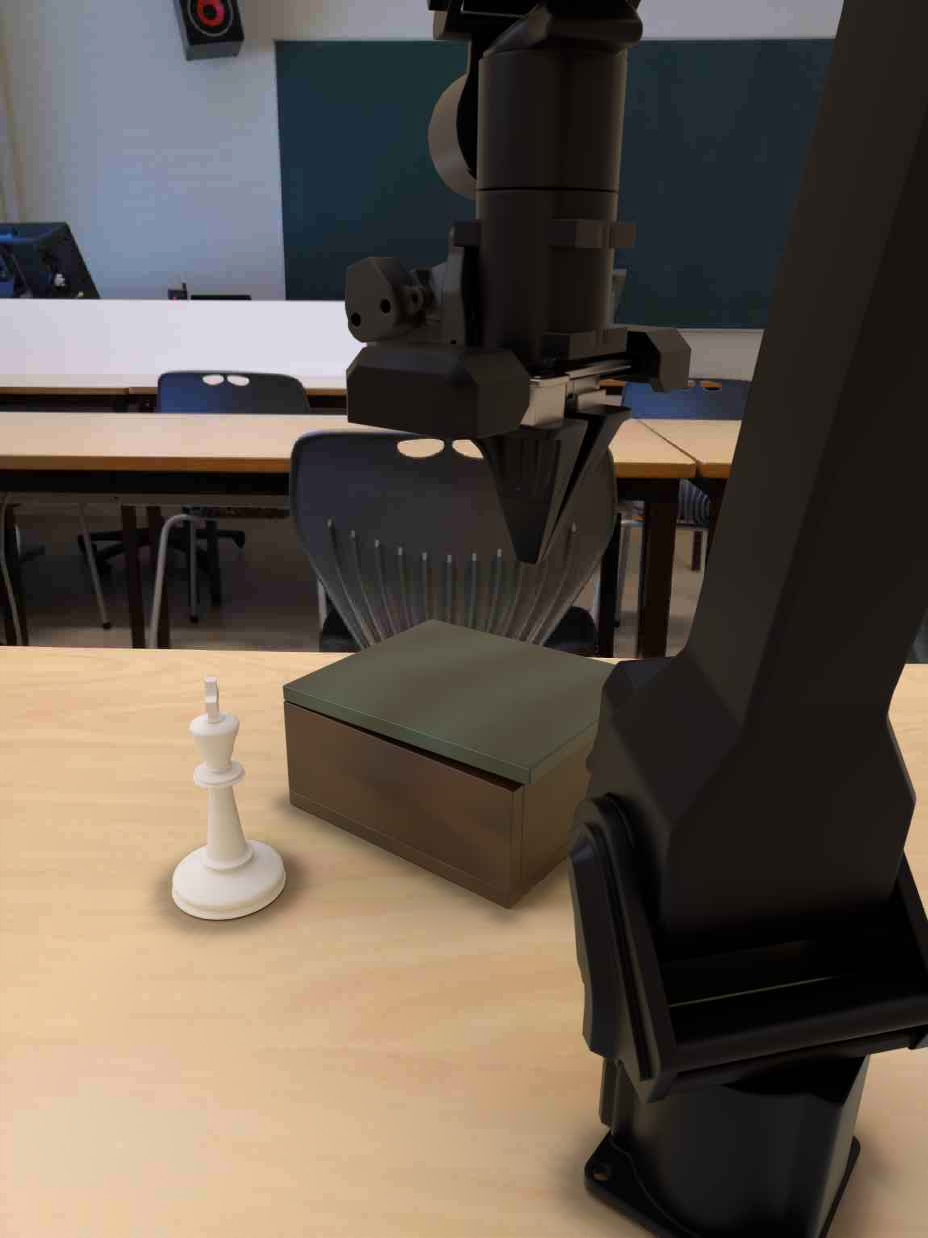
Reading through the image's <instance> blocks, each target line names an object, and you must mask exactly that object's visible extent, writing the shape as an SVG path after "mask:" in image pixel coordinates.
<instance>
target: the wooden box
mask: <svg viewBox="0 0 928 1238" xmlns="http://www.w3.org/2000/svg"><path fill="white" fill-rule="evenodd" d="M283 716H284V717H283V718H284V719H283V720H284V733H285V745H286V746H285V749H286V763H287V780H288V789H289V790H288V795H289V803H290V804H291V805H293V806H295V807H298V808H300V809H302V810H303V811H306V812H308V813H310V814H312V815H314V816H317V817H318V818H321V819H322V820H325V821H327V822H328V823H330V824H332V825H335V826H337V827H339V828H342V829H343V830H346V831H348V832H349V833H352V834H353V835H356V836H358V837H360V838H362V839H364V840H366V841H368V842H370V843H372V844H374V845H377V846H378V847H380V848H383V849H384V850H386V851H389V852H391V853H393V854H395V855H397V856H400V857H401V858H403V859H405V860H407V861H410V862H412V863H414V864H416V865H418V866H420V867H422V868H424V869H426V870H428V871H430V872H432V873H434V874H436V875H439V876H441V877H443V878H444V879H447V880H448V881H451V882H453V883H454V884H457V885H459V886H461V887H464V888H465V889H467V890H470V891H472V892H473V893H476V894H478V895H480V896H482V897H483V898H486V899H489V900H490V901H492V902H494V903H497V904H499V905H500V906H503V907H505V908H507V909H510V908H511V907H512V906H513V905H515V904H516V903H517V902H518V901H519V900H520V899H521V898H522V897H523V896H524V895H525V894H526V893H528V891H530V890H531V889H532V888H533V887H534V886H535V885H536V884H537V883H539V882H540V881H541V880H542V879H543V878H544V877H545V876H547V874H549V873H550V872H551V871H552V870H553V869H554V868H555V867H557V865H558V864H560V863H561V862H562V861H563V860H564V859H565V858H567V855H568V854H569V852H570V846H569V830H570V828H572V827H573V819H574V814H575V810H576V807H577V805H578V803H579V802H580V801H581V800H582V799H585V797H586V792H587V788H588V783H589V780H590V777H591V773H590V772H588V771H587V769H586V759H587V757H588V756H589V754H590V752H591V750H592V749H593V745H594V742H595V738H596V736H595V737H594V738H593V739H591V740H590V741H589V742H587V743H586V744H585V745H583V746H582V747H581V748H580V749H578V750H577V751H576V752H574V753H573V754H572V755H570V756H569V757H568V758H566V759H565V760H564V761H562V762H561V763H560V764H558V765H557V766H556V767H554V768H553V769H552V770H550V771H549V772H548V773H546V774H545V775H544V776H542V777H541V778H540V779H538V780H537V781H536V782H535V783H533V784H532V785H530V786H529V785H526V784H523V783H520V782H517V781H514V780H511V779H509V778H506V777H503V776H500V775H497V774H494V773H491V772H489V771H486V770H483V769H480V768H477V767H474V766H472V765H469V764H466V763H463V762H460V761H457V760H454V759H452V758H449V757H446V756H443V755H440V754H437V753H434V752H432V751H429V750H426V749H423V748H420V747H417V746H415V745H412V744H409V743H406V742H403V741H400V740H397V739H395V738H392V737H389V736H386V735H383V734H380V733H378V732H375V731H372V730H369V729H366V728H363V727H360V726H358V725H355V724H352V723H349V722H346V721H343V720H340V719H338V718H335V717H332V716H329V715H326V714H323V713H321V712H318V711H315V710H312V709H309V708H306V707H303V706H301V705H298V704H295V703H292V702H289V701H286V700H283Z"/></svg>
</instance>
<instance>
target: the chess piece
mask: <svg viewBox="0 0 928 1238" xmlns="http://www.w3.org/2000/svg"><path fill="white" fill-rule="evenodd" d="M204 690H205V691H204V692H205V701H204V707H205V713H203V714H200V715H199V716H197V717H195V718H193V720H192V721H191V722H190V724H189V727H188V728H189V733H190V735H191V737H192V739H193V741H194V742H195V744H196V746H197V748H198V750H199V753H200V755H201V756H202V760H203V761H204V762H202V763H201V764H199V765H198V766H197V767H196V768H195V769H194V772H193V776H192V777H193V778H192V780H193V782H194V784H196V786H197V787H200V788H203V789H207V790H208V816H207V817H208V818H207V838H206V845H203V846H202V847H201V846H200V847H199V848H197V849H196V850H194V851H192V852H191V853H189V854H188V855H186V856H185V857H184V858H183V859H182V860H181V861H180V863H178V864H177V866H176V868H175V870H174V872H173V874H172V887H171V896H172V900H173V901H174V903H175V905H176V906H177V907H178V908H179V909H180V910H181V911H183V912H184V913H186V914H188V915H190V916H193V917H196V918H198V919H199V918H200V919H204V920H205V919H206V920H230V919H237V918H240V917H244V916H248V915H251V914H253V913H255V912H257V911H259V910H262V909H263V908H265V907H266V906H268V905H269V904H271V903H272V902H273V901H274V900H275V899H277V897H278V896H279V895H280V894H281V892H282V891H283V889H284V887H285V885H286V881H287V872H286V870H285V869H286V868H285V867H284V861H283V858H282V856H281V855H280V854H279V852H278V851H277V850H275V848H274V847H272V846H270V845H268V844H267V843H264V842H262V841H257V840H254V839H247V838H245V835H244V831H243V827H242V822H241V819H240V815H239V810H238V807H237V802H236V796H235V793H234V788H233V786H235V785H237V784H238V783H240V782H241V781H242V780H243V779H244V778H245V775H246V770H245V768H244V765H243V764H242V762H240V761H238V760H236V759H233V758H232V756H233V753H234V747H235V743H236V740H237V739H236V738H237V736H238V733H239V729H240V719H239V718H238V717H237V715H235V714H233V713H231V712H226V711H220V703H219V699H220V688H219V684H218V681H217V676H211V677H210V676H209V677H205V678H204Z"/></svg>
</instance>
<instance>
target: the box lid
mask: <svg viewBox="0 0 928 1238" xmlns="http://www.w3.org/2000/svg"><path fill="white" fill-rule="evenodd" d="M616 664H617V663H611V662H607V661H603V660H599V659H595V658H590V657H587V656H583V655H578V654H575V653H571V652H566V651H563V650H559V649H555V648H550V647H546V646H543V645H537V644H536V643H535V644H534V643H530V642H526V641H524V640H519V639H514V638H511V637H507V636H502V635H498V634H494V633H490V632H487V631H483V630H482V631H481V630H478V629H474V628H469V627H466V626H462V625H457V624H454V623H450V622H446V621H441V620H438V619H433V618H430V619H428V620H426V621H424V622H422V623H419V624H417V625H415V626H413V627H410V628H408V629H405V630H404V631H401V632H399V633H396V634H395V635H393V636H390V637H388V638H385V639H383V640H381V641H379V642H377V643H374V644H372V645H370V646H367V647H365V648H364V649H361V650H359V651H357V652H353V653H352V654H350V655H348V656H345V657H343V658H341V659H338V660H337V661H334V662H332V663H330V664H328V665H325V666H323V667H321V668H318V669H316V670H314V671H312V672H310V673H308V674H305V675H303V676H300V677H298V678H296V679H293V680H292V681H289V682H287V683H284V684H283V685H282V695H283V701H285V700H286V701H289V702H292V703H295V704H298V705H301V706H303V707H306V708H309V709H312V710H315V711H318V712H321V713H323V714H326V715H329V716H332V717H335V718H338V719H340V720H343V721H346V722H349V723H352V724H355V725H358V726H360V727H363V728H366V729H369V730H372V731H375V732H378V733H380V734H383V735H386V736H389V737H392V738H395V739H397V740H400V741H403V742H406V743H409V744H412V745H415V746H417V747H420V748H423V749H426V750H429V751H432V752H434V753H437V754H440V755H443V756H446V757H449V758H452V759H454V760H457V761H460V762H463V763H466V764H469V765H472V766H474V767H477V768H480V769H483V770H486V771H489V772H491V773H494V774H497V775H500V776H503V777H506V778H509V779H511V780H514V781H517V782H520V783H523V784H526V785H529V786H530V785H532V784H533V783H535V782H536V781H537V780H538V779H540V778H541V777H542V776H544V775H545V774H546V773H548V772H549V771H550V770H552V769H553V768H554V767H556V766H557V765H558V764H560V763H561V762H562V761H564V760H565V759H566V758H568V757H569V756H570V755H572V754H573V753H574V752H576V751H577V750H578V749H580V748H581V747H582V746H583V745H585V744H586V743H587V742H589V741H590V740H591V739H593V738H594V737H595V736H596V734H597V730H598V722H599V714H600V704H601V693H602V687H603V685H604V683H605V681H606V679H607V678H608V676H609V675H610V673H611V672H612V670H613V668H614V667H615V665H616Z"/></svg>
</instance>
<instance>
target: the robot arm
mask: <svg viewBox="0 0 928 1238" xmlns="http://www.w3.org/2000/svg"><path fill="white" fill-rule="evenodd" d="M641 1H642V0H426V6H427V10H428V11H431V12H432V11H433V12H434V13H433V21H432V39H433V40H434V41H440V42H441V41H443V42H458V43H467V64H466V65H467V66H466V72H465V74H463V75H462V76H461V77H459V78H458V79H456V80H455V81H453V82H452V83H451V84H450V85H449V86H448V87H447V88H446V89H445V90H444V91H443V92H442V94H441V96H440V97H439V99H438V100H437V102H436V104H435V106H434V108H433V112H432V115H431V119H430V122H429V124H428V135H427V140H428V141H427V142H428V148H429V154H430V157H431V160H432V163H433V166H434V168H435V170H436V172H437V174H438V175H439V176H440V178H441V180H442V181H443V182H444V183H445V184H446V185H447V187H449V188H450V189H451V190H452V191H453V192H454V193H456V194H457V195H459V196H460V197H462V198H464V199H467V200H471V201H473V202H475V218H473V219H472V218H456V219H455V218H454V225H453V226H454V227H452V228H451V229H450V231H449V233H448V253H447V254H448V255H447V258H446V261H445V262H441V263H440V264H436V265H435V266H432V267H429V268H414V269H412V270H410V271H407V269H406V268H405V267H404V266H403V263H401V262H400V261H399V259H398V258H396V257H394V256H367V257H365V258H363V259H361V260H359V261H357V262H354V263H352V264H351V265H348V266H347V267H346V272H345V273H346V274H345V290H344V291H345V293H344V311H345V315H346V319H347V328H348V331H349V333H350V334H351V336H352V337H353V338H354V339H355V340H356V341H358V342H359V343H361V344H365V343H374V345H371V346H363V347H362V348H361V349H360V351H359V352H358V353H357V354H356V356H355V357H354V359H353V360H352V361H351V362H350V363H349V365H348V366H347V368H346V369H345V388H346V418H347V419H346V420H347V423H349V424H355V425H359V426H366V427H373V428H380V429H385V430H391V431H398V432H403V433H411V434H417V435H423V436H428V437H429V436H430V437H435V438H441V439H448V440H454V441H457V440H458V441H460V440H461V441H464V440H469V441H470V442H471V443H472V444H473V445H474V446H475V447H476V448H477V449H478V451H479V452H480V454H481V456H482V458H483V460H484V463H485V466H486V468H487V471H488V473H489V476H490V479H491V481H492V483H493V486H494V490H495V493H496V495H497V500H498V503H499V505H500V506H499V507H500V509H501V512H502V515H503V519H504V523H505V525H506V529H507V532H508V536H509V538H510V542H511V545H512V549H513V551H514V555H515V557H516V559H517V561H519V562H521V563H524V564H528V565H537V564H539V563H541V562H543V561H545V560H546V559H547V557H548V555H549V553H550V551H551V550H552V548H553V546H554V544H555V543H556V540H557V538H558V537H559V535H560V533H561V531H562V530H563V527H564V526H565V524H566V522H567V520H568V518H569V516H570V514H571V512H572V511H573V509H574V507H575V505H576V503H577V501H578V500H579V498H580V496H581V495H582V492H583V491H584V489H585V487H586V486H587V484H588V483H589V480H590V478H591V476H592V475H593V474H594V471H595V469H596V468H597V467H598V464H599V463H600V461H601V459H602V458H603V457H604V455H605V453H606V451H607V449H608V448H609V446H610V445H611V443H612V441H613V439H614V438H615V436H616V434H617V433H618V431H619V429H620V428H621V427H622V425H623V423H624V422H626V421H629V420H630V419H631V416H632V413H633V408H632V407H629V406H623V405H615V404H607V403H606V394H607V393H606V392H607V390H606V388H600V386H601V385H600V383H601V382H602V381H607V380H611V381H616V382H626V383H635V384H650V386H651V388H652V391H653V393H660V394H661V393H662V394H666V393H671V392H674V391H678V390H682V389H686V388H688V387H689V378H690V368H691V359H692V347H691V346H690V345H689V343H688V342H687V341H686V339H685V338H684V336H683V335H682V334H681V332H680V331H679V330H678V328H677V327H669V326H655V325H641V324H640V325H639V324H626V323H625V324H624V323H612V322H611V323H610V319H611V318H610V315H611V303H612V302H611V301H612V288H613V275H614V273H613V272H614V261H615V260H614V258H615V249H619V250H620V249H623V250H624V249H625V250H626V249H627V250H628V249H630V250H634V249H635V239H636V238H635V237H636V227H637V225H636V224H637V222H634V221H633V222H630V221H619V220H617V218H618V217H617V216H618V202H619V194H618V193H619V189H620V174H621V162H622V146H623V133H624V131H623V130H624V120H625V119H624V116H625V105H626V104H625V102H626V89H627V75H628V74H627V73H628V61H627V59H628V57H629V56H628V55H629V54H628V49H630V48H631V47H633V46H635V45H637V44H638V43H639V42H641V40H642V37H643V34H644V23H643V20H642V19H641V17H640V15H639V13H638V11H637V10H638V8H639V6H640V3H641ZM796 192H797V193H796V196H795V201H794V204H793V209H792V214H791V218H790V222H789V226H788V230H787V234H786V238H785V242H784V246H783V251H782V255H781V259H780V263H779V266H778V270H777V274H776V279H775V283H774V287H773V291H772V295H771V299H770V304H769V308H768V311H767V316H766V319H765V320H766V321H765V324H764V328H763V333H762V337H761V341H760V345H759V349H758V353H757V357H756V361H755V365H754V370H753V373H752V377H751V381H750V386H749V389H748V394H747V399H746V402H745V407H744V411H743V414H742V419H741V422H740V427H739V430H738V435H737V439H736V443H735V447H734V451H733V454H732V455H733V456H732V460H731V463H730V468H729V472H728V476H727V480H726V485H725V488H724V492H723V495H722V496H723V497H722V501H721V505H720V510H719V513H718V517H717V521H716V524H715V530H714V533H713V537H712V542H711V545H710V551H709V554H708V558H707V563H706V566H705V571H704V575H703V579H702V581H701V582H702V583H701V588H700V590H699V595H698V598H697V599H698V600H697V604H696V608H695V612H694V616H693V620H692V624H691V628H690V632H689V635H688V638H687V640H686V643H685V645H684V646H683V648H682V649H681V650H680V651H678V652H677V654H675V655H670V656H658V657H649V658H634V659H625V660H619V661H617V663H615V664H616V665H615V667H614V668H613V670H612V672H611V673H610V675H609V676H608V678H607V679H606V681H605V683H604V685H603V687H602V693H601V704H600V714H599V722H598V730H597V734H596V738H595V742H594V745H593V749H592V750H591V752H590V754H589V756H588V757H587V759H586V769H587V771H588V772H590V773H591V777H590V780H589V783H588V788H587V792H586V797H585V799H582V800H581V801H580V802H579V803H578V805H577V807H576V810H575V814H574V819H573V827H572V828H570V830H569V846H570V852H569V854H568V855H567V856H566V857H565V858H566V859H565V865H566V872H567V878H568V885H569V890H570V897H571V903H572V909H573V922H574V923H573V924H574V934H575V935H574V936H575V937H574V938H575V951H576V952H575V953H576V955H575V956H576V961H577V965H578V968H579V972H580V975H581V976H580V977H581V981H582V984H583V989H584V990H583V991H584V1001H583V1002H584V1006H583V1016H582V1017H583V1018H582V1033H581V1036H582V1037H583V1039H584V1042H585V1043H586V1046H587V1048H588V1051H589V1052H591V1053H593V1054H596V1055H597V1056H600V1057H601V1058H602V1066H601V1067H602V1068H601V1079H600V1093H599V1103H598V1117H599V1120H600V1123H601V1124H602V1125H604V1126H605V1127H606V1128H609V1130H608V1131H607V1133H606V1134H605V1135H604V1136H603V1139H602V1140H601V1141H600V1142H599V1144H598V1145H597V1147H596V1148H595V1150H594V1151H593V1153H592V1154H591V1155H590V1157H589V1158H588V1160H587V1161H586V1163H585V1165H584V1168H583V1178H582V1179H583V1185H584V1187H585V1189H586V1191H588V1193H590V1194H591V1195H592V1196H594V1197H596V1198H597V1199H599V1200H600V1201H602V1202H603V1203H605V1204H606V1205H608V1206H610V1207H611V1208H612V1209H614V1210H615V1211H617V1212H618V1213H620V1214H622V1215H623V1216H625V1217H626V1218H628V1219H629V1220H631V1221H633V1222H634V1223H635V1224H637V1225H638V1226H640V1227H642V1228H643V1229H645V1230H646V1231H648V1232H649V1233H650V1234H652V1235H654V1236H656V1237H657V1238H828V1237H829V1234H830V1232H831V1229H832V1227H833V1224H834V1222H835V1220H836V1217H837V1215H838V1212H839V1209H840V1207H841V1205H842V1203H843V1200H844V1198H845V1195H846V1192H847V1191H848V1187H849V1184H850V1182H851V1179H852V1177H853V1175H854V1172H855V1170H856V1167H857V1165H858V1162H859V1160H860V1159H859V1158H860V1154H861V1147H862V1146H861V1143H860V1141H859V1139H858V1138H857V1136H856V1135H855V1134H854V1133H855V1129H856V1125H857V1124H856V1123H857V1119H858V1115H859V1110H860V1106H861V1102H862V1097H863V1092H864V1089H865V1088H864V1087H865V1083H866V1078H867V1074H868V1069H869V1066H870V1060H871V1056H872V1055H875V1054H876V1055H877V1054H881V1053H886V1052H891V1051H895V1050H901V1049H906V1048H907V1049H908V1050H909V1051H915V1050H920V1049H925V1048H928V916H927V913H926V910H925V907H924V904H923V901H922V898H921V895H920V893H919V890H918V887H917V883H916V881H915V878H914V876H913V873H912V869H911V867H910V864H909V861H908V858H907V855H906V852H905V846H906V842H907V839H908V835H909V831H910V828H911V824H912V820H913V817H914V812H915V808H916V805H917V793H916V791H915V789H914V785H913V783H912V779H911V776H910V773H909V771H908V768H907V765H906V762H905V759H904V756H903V753H902V751H901V748H900V745H899V742H898V739H897V736H896V733H895V730H894V727H893V725H892V722H891V719H890V709H891V705H892V700H893V696H894V693H895V691H896V688H897V686H898V683H899V681H900V678H901V676H902V674H903V671H904V669H905V666H906V664H907V662H908V659H909V657H910V654H911V652H912V649H913V647H914V644H915V642H916V640H917V637H918V635H919V632H920V629H921V627H922V625H923V622H924V620H925V617H926V615H927V612H928V0H843V2H842V5H841V12H840V16H839V20H838V25H837V29H836V33H835V37H834V41H833V45H832V49H831V53H830V57H829V62H828V66H827V69H826V73H825V78H824V82H823V85H822V90H821V94H820V98H819V102H818V106H817V111H816V115H815V119H814V123H813V127H812V131H811V135H810V139H809V143H808V148H807V152H806V156H805V160H804V164H803V168H802V172H801V177H800V180H799V185H798V189H797V191H796ZM596 1175H602V1176H604V1177H605V1179H601V1178H600V1179H599V1178H597V1177H596Z"/></svg>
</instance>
